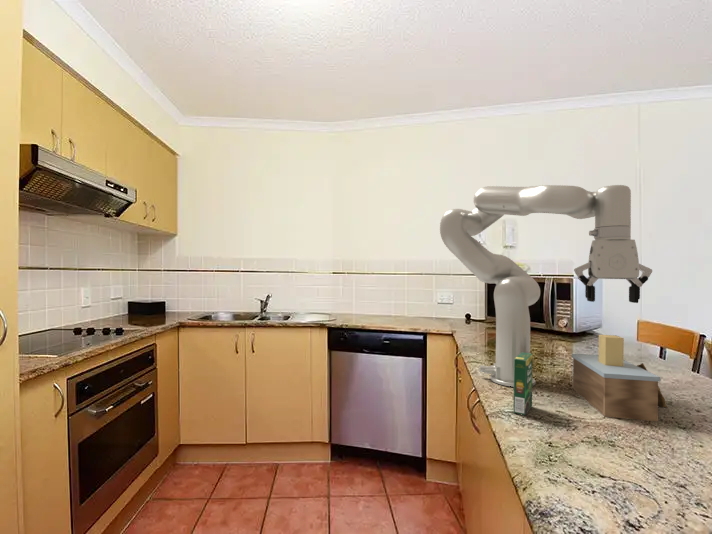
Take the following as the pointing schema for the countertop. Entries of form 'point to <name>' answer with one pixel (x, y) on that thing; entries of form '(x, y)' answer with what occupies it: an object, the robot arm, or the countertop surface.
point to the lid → (614, 361)
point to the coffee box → (523, 383)
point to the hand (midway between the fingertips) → (612, 301)
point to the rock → (660, 397)
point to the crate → (616, 394)
